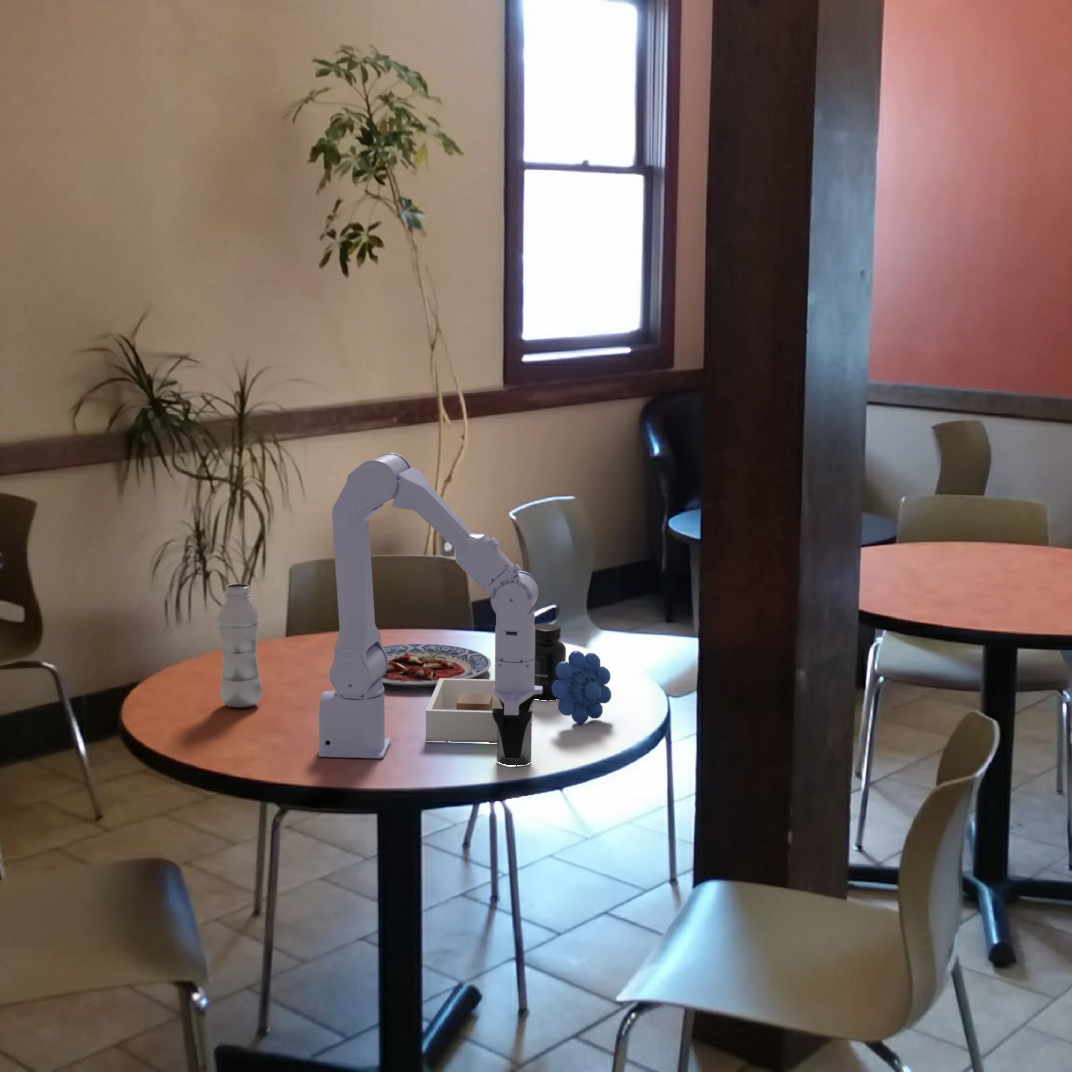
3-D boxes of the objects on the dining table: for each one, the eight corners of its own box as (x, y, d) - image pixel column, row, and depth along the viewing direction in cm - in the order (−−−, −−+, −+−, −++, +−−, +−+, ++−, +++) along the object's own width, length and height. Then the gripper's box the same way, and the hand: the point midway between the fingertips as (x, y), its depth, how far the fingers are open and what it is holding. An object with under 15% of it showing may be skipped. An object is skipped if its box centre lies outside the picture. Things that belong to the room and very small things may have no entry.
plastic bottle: (253, 713, 226) (249, 591, 222) (213, 710, 227) (209, 589, 224) (268, 701, 232) (265, 582, 229) (229, 698, 233) (226, 580, 230)
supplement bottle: (530, 703, 233) (531, 632, 231) (519, 691, 240) (520, 622, 237) (570, 700, 235) (571, 630, 233) (558, 689, 241) (559, 620, 239)
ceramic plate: (434, 704, 233) (434, 687, 232) (314, 679, 246) (314, 663, 245) (518, 669, 254) (518, 653, 254) (404, 648, 268) (404, 632, 267)
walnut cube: (456, 734, 215) (456, 703, 214) (460, 724, 219) (460, 693, 219) (489, 735, 214) (489, 704, 213) (492, 725, 219) (492, 694, 218)
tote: (425, 742, 213) (425, 710, 212) (439, 707, 230) (439, 678, 229) (515, 745, 212) (516, 713, 211) (522, 710, 229) (523, 680, 228)
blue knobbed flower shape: (569, 737, 216) (570, 661, 214) (542, 725, 221) (543, 651, 219) (627, 723, 223) (628, 650, 221) (599, 713, 228) (601, 641, 226)
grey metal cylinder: (495, 766, 203) (495, 719, 201) (498, 755, 207) (498, 709, 206) (530, 767, 202) (530, 720, 201) (532, 756, 207) (532, 710, 206)
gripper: (540, 672, 195) (539, 766, 197) (545, 645, 209) (544, 733, 211) (489, 670, 195) (489, 764, 198) (497, 644, 209) (497, 732, 212)
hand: (514, 748), depth 205 cm, fingers open, 7 cm apart
